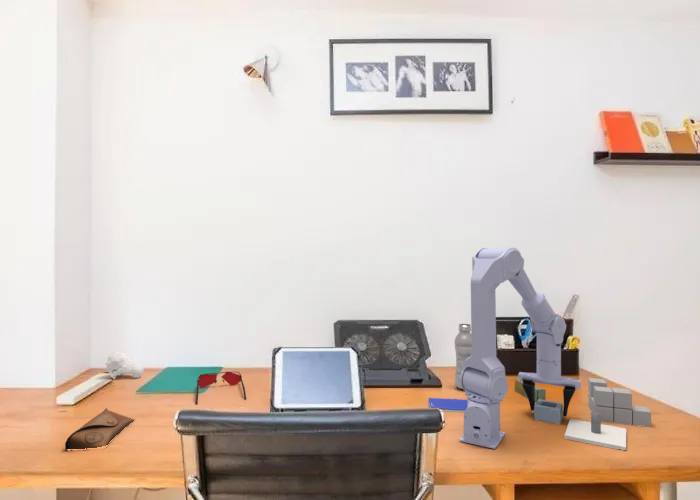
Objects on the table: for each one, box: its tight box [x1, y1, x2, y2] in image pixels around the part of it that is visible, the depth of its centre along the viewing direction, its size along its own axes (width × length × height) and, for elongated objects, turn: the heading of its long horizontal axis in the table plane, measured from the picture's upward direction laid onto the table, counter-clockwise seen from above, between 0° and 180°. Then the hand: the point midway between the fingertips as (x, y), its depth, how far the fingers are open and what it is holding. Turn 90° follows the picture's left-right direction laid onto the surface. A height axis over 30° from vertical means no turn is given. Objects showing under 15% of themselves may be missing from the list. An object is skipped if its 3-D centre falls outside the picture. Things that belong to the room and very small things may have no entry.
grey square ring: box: [533, 399, 564, 425], centre depth 115 cm, size 6×6×4 cm
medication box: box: [514, 378, 547, 404], centre depth 132 cm, size 12×3×4 cm, turn 12°
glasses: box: [195, 371, 247, 406], centre depth 135 cm, size 14×16×5 cm
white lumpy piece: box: [105, 351, 145, 380], centre depth 152 cm, size 6×8×12 cm
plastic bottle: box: [453, 323, 472, 390], centre depth 140 cm, size 6×7×20 cm
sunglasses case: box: [64, 408, 136, 451], centre depth 105 cm, size 18×7×7 cm, turn 6°
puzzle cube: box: [587, 377, 652, 427], centre depth 117 cm, size 12×12×8 cm
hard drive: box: [427, 397, 467, 413], centre depth 124 cm, size 2×8×12 cm
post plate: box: [564, 411, 627, 451], centre depth 104 cm, size 12×12×5 cm
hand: (548, 412), depth 115 cm, fingers open, 7 cm apart
